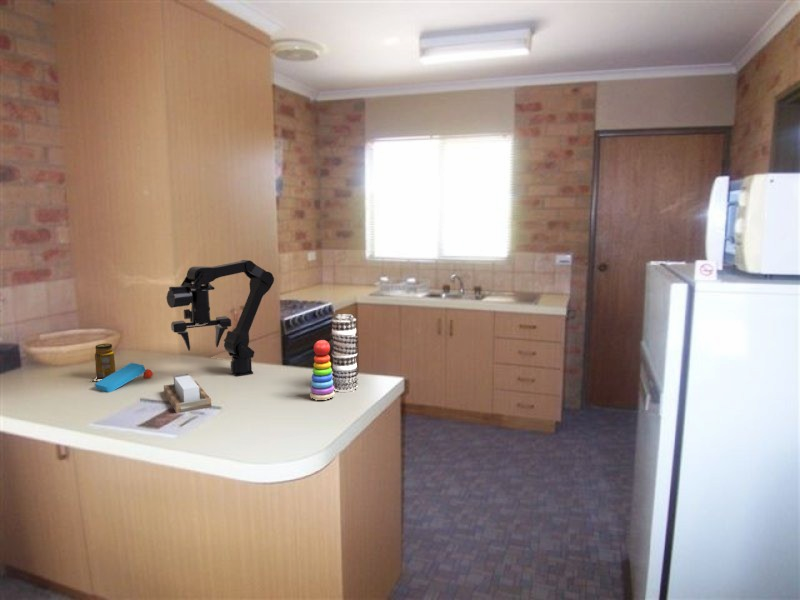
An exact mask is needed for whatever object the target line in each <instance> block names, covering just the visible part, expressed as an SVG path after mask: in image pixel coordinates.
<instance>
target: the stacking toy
mask: <svg viewBox="0 0 800 600" xmlns="http://www.w3.org/2000/svg"><path fill="white" fill-rule="evenodd" d="M330 345H331V344H330V343H329V342H328V341H327V340H325V339H321V340H318V341H316V342H315V343H314V345H313V352H314V353H315V354H316V355H314V357H313V361H314V363H313V369H312V375H311V379H312V380H311V382H310V384H311V386H310V392H309V397H310V398H311V399H312V398H313V399H317V400H325V399H330V398H332V397H333V398H334V397H335V396H336V392H335V391H334V386H333V380H332V378H333V376H332V373H333V372H332V369H333V368H332V367H331V366H332V362H331V361H330V360H331V356H330V355H329V353H330V350H331V346H330ZM333 398H332V399H333ZM313 399H312V400H313ZM317 400H316V401H317ZM330 400H331V399H330Z"/></svg>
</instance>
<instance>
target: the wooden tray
mask: <svg viewBox="0 0 800 600" xmlns="http://www.w3.org/2000/svg"><path fill="white" fill-rule="evenodd" d="M194 381H195V383H196V384H197V385H198V386H199V393H200V400H194V401H189V402H182V401H181V399H180V398H179V397H178V395H177V394H176V392H175V390H174V383H171V384H166V385H163V394H164V396H166V398H167V400H168V402H169V404H170V405H171V407H172V406H173V407H172V408H173V409H174V412H175V413H176V414H178V413H185V411H186V412H191V411H197V410H200V409H207V408H211V407H212V398H211V397H210V395H208V394H207V393H206V391H205V390H204V389H203V388H202V386H201V385H200V384H199V383H198V382H197V380H194Z"/></svg>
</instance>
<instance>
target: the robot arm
mask: <svg viewBox="0 0 800 600" xmlns="http://www.w3.org/2000/svg"><path fill="white" fill-rule="evenodd" d="M242 273H244V275H245V276H246V277H247V278H248V279H250V280H249V294H248V295H247V298H246V301H245V303H244V306H243V309H242V311H241V314H240V316H239V318H238V321H237V323H236V327H235V328H234V329H233V330H231V331H230V330H228V329H229V327H232V319H231V318H230V317H228V316H226V315H225V316H217V317H215V319H211V307H210V292H209V291H213V290H215V289H216V287H215V286H213V285H212V284H211V283H212V282H214V281H215V280H217V279H219V278H223V277H227V276H231V275H236V274H237V275H238V274H242ZM274 283H275V278H274V275H273V273H272V272H271V271H266V270H265V269H264V268H262V267H260V266H259V265H257V264H255V263H254V262H253V261H252V260H248V259H242V260H239V261H234V262H229V263H223V264H220V265H213V266H205V265H204V266H203V265H202V266H201V265H200V266H199V265H198V266H197V265H196V266H194V265H193V266H191V267H189V269H188V270H187V273H186V276H185V278H184V279H183V281H182V283H181V284H180V286H169V287H168V288H169V289H168V291H167V294H166V302H167V305H168V307H170V308H171V309H174V308H180V307H188V306H190V305H191V307H190V308H191V309H189V308H188V309H187V308H186V309H183V318H184V320H189V322H186V321H184V320H175V321H174V320H173V321H172V322H171V323H170V328H171V330H172V332H173V333H176V334H177V335H178V336H179V335H180V336H181V338H182V339H183V341H184V343H185V346H186V348H187V350H188V351H189V352H190V351H191V345H190V338H189V336H190V335H189V332H188V331H187V330H188V329H194V328H202V327H210V326H211V327H212V326H214V328H215V347H216V348H218V347H219V344H220V342H221V339H222V337H223V334H225V331H226V330H228V331H227V332H226V337H225V338H224V339H223V342H224V344H223V347H224V349H225V351H226V352H227V353H228V356H230V357H231V361H230V373H232V374H233V376H235V377H239V376H244V375H245V376H246V375H251V374H254V371H252V370H253V369H252V358H254V356H255V351H254V350H253V349H252V348H251V347H250V346H249V343H250V330H251V327H252V326H253V323H254V320H255V317H256V315H257V312H258V311H259V307H260V304H261V302H262V299H263V297H264V296H265V295H266V294H267V293H268V292H269V291H270V289H271V288H272V286H273V284H274Z"/></svg>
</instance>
